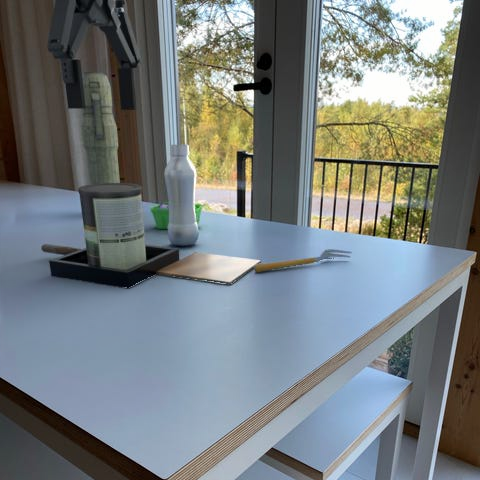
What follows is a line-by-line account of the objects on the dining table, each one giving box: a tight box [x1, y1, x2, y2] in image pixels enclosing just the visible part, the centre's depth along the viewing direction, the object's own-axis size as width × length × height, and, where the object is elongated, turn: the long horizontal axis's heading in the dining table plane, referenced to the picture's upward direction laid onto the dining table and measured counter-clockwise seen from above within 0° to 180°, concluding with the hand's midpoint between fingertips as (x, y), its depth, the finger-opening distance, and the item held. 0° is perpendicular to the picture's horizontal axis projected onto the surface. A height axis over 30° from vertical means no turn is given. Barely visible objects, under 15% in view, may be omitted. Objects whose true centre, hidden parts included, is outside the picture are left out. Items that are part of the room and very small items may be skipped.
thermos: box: [81, 71, 121, 185], centre depth 125 cm, size 9×12×35 cm
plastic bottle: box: [163, 144, 200, 247], centre depth 97 cm, size 6×7×20 cm
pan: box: [40, 243, 180, 289], centre depth 86 cm, size 25×16×3 cm, turn 67°
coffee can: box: [77, 182, 146, 270], centre depth 82 cm, size 10×10×14 cm
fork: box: [253, 248, 352, 273], centre depth 87 cm, size 2×2×20 cm
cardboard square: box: [156, 251, 262, 284], centre depth 85 cm, size 14×14×1 cm
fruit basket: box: [149, 192, 204, 230], centre depth 115 cm, size 11×9×11 cm
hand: (104, 109), depth 78 cm, fingers open, 13 cm apart
